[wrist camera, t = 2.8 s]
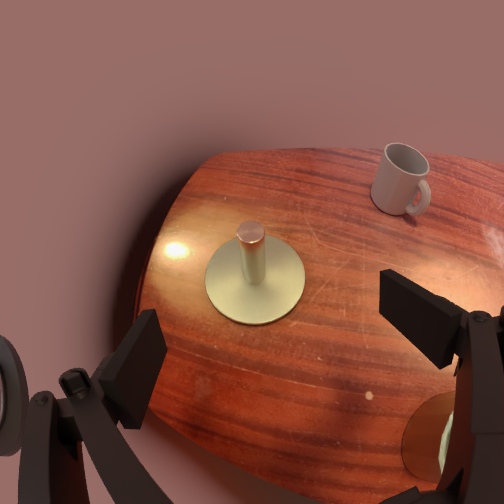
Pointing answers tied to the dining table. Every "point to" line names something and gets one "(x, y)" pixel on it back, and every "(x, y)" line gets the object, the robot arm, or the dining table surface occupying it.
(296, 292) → the lid
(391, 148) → the cup
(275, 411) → the dining table surface
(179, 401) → the dining table surface
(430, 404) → the round metal container
